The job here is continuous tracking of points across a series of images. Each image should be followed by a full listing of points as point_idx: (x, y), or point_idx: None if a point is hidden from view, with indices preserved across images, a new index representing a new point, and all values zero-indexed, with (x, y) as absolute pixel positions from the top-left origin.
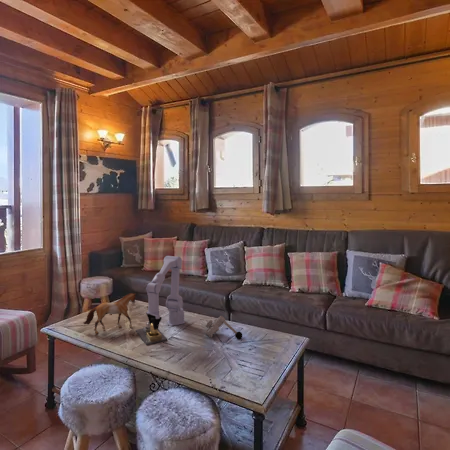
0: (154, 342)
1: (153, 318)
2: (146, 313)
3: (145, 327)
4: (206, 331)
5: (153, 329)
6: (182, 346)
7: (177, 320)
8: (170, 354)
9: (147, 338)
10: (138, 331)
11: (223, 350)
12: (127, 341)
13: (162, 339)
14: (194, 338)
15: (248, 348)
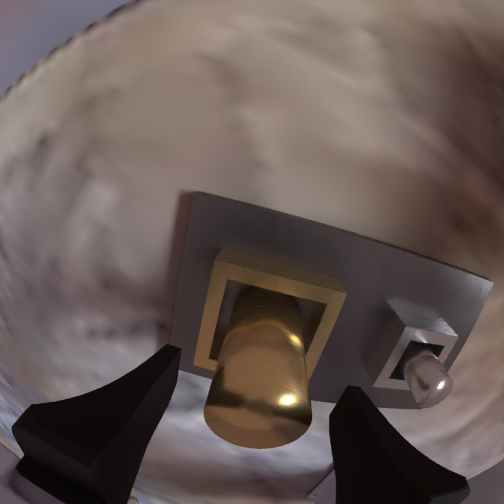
0: (182, 267)
1: (39, 454)
2: (448, 496)
3: (442, 347)
4: None
5: (224, 353)
6: (59, 352)
7: (328, 498)
8: (13, 247)
9: (289, 262)
10: (462, 281)
11: (4, 397)
12: (397, 111)
13: (176, 338)
14: None
15: (9, 429)
